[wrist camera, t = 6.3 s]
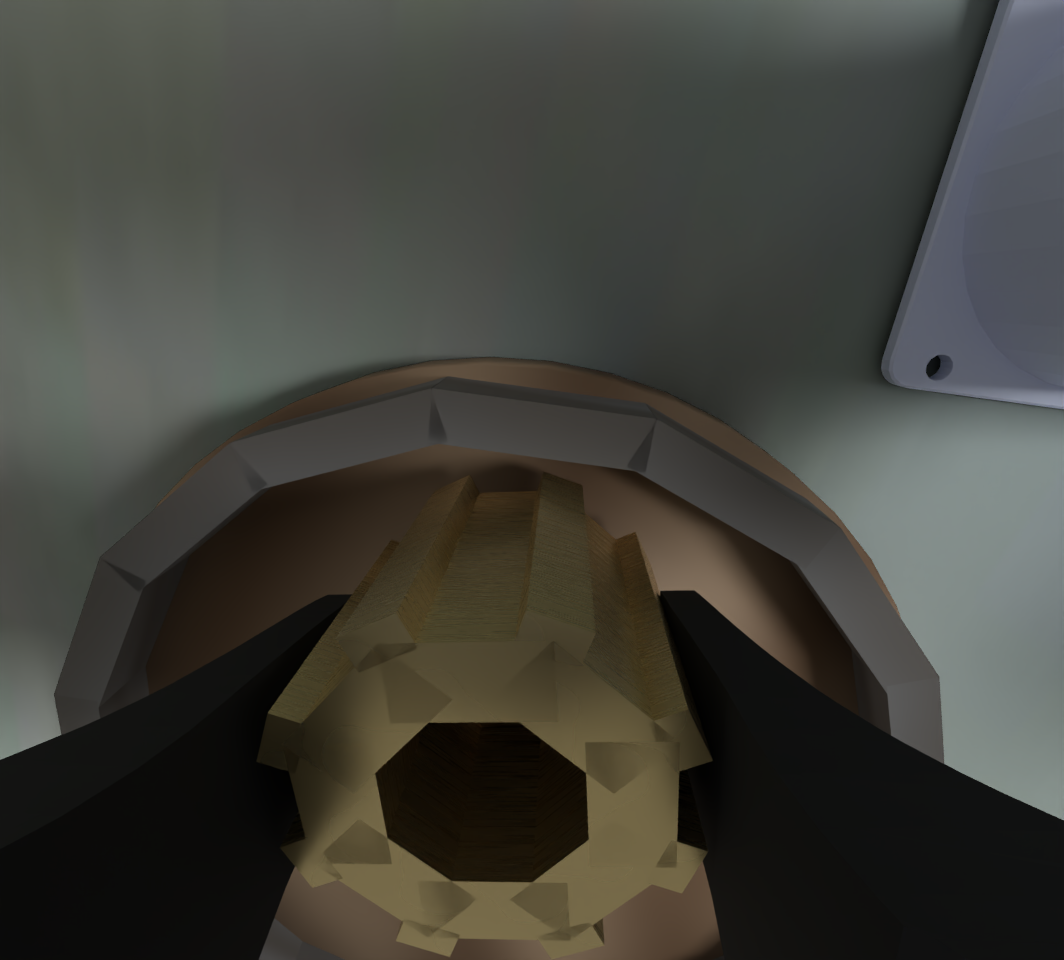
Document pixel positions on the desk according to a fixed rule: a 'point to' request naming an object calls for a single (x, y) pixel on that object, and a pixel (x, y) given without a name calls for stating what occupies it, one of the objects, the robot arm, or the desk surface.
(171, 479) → the desk surface
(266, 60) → the desk surface
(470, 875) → the planet gear
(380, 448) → the gear carrier
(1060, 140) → the robot arm
